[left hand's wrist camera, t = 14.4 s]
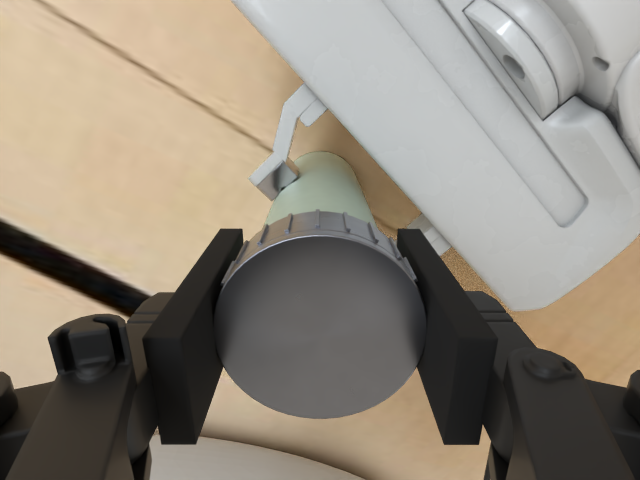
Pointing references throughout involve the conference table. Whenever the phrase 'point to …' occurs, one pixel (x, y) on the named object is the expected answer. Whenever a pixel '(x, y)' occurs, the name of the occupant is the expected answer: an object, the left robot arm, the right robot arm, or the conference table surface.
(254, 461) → the projector
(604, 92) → the right robot arm
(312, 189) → the jar
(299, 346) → the lid
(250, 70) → the conference table surface
